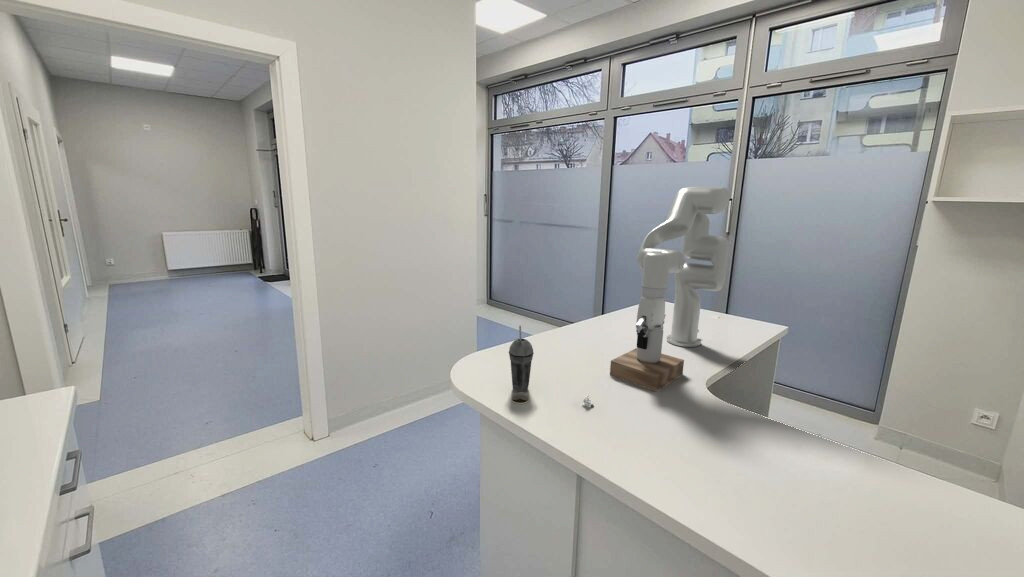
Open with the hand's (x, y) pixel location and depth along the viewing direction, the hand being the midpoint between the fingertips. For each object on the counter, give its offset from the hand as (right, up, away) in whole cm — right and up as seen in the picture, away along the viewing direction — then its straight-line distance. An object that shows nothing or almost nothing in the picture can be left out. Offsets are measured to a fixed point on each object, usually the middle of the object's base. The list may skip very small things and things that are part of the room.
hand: (649, 344), depth 134 cm
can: (0, -5, +1) cm, 6 cm away
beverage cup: (-41, -12, -9) cm, 44 cm away
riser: (0, -10, +2) cm, 10 cm away
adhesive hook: (-22, -15, -19) cm, 33 cm away
